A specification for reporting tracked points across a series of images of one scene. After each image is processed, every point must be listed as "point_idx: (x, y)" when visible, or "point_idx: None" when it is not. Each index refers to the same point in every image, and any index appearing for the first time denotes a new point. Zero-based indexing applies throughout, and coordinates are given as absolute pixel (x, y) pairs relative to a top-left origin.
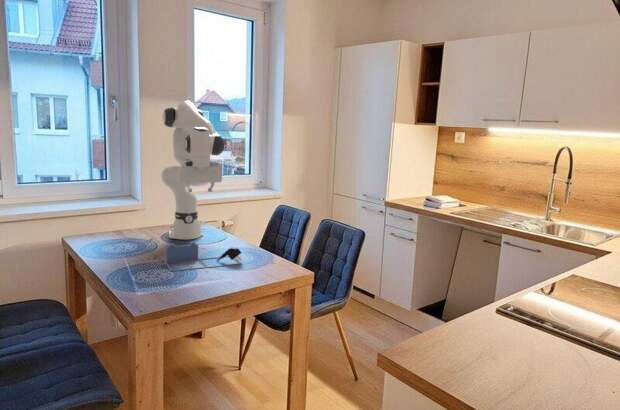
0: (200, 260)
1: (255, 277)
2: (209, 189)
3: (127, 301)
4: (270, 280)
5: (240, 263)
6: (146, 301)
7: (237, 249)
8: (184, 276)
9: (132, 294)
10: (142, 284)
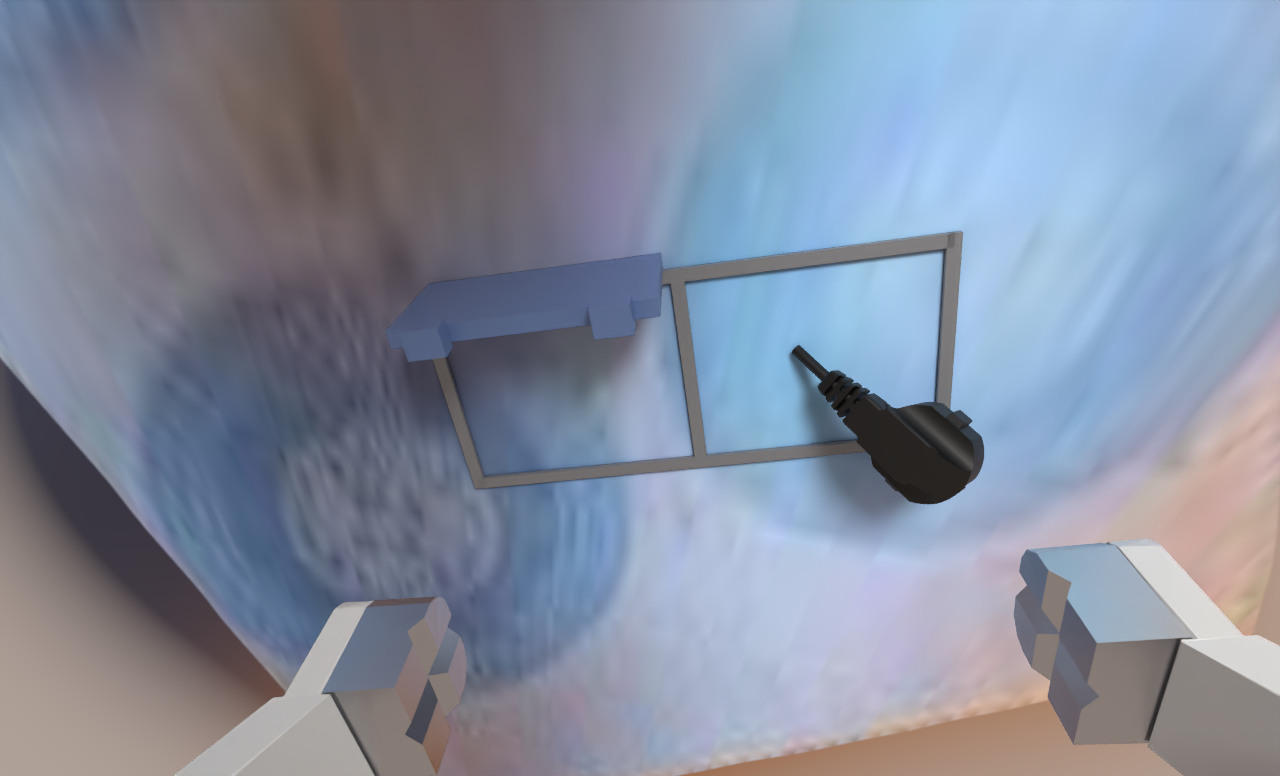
0: (676, 316)
1: (916, 649)
2: (1068, 705)
3: None
4: (968, 694)
5: None
6: None
7: (953, 495)
8: (555, 568)
9: None
10: None
